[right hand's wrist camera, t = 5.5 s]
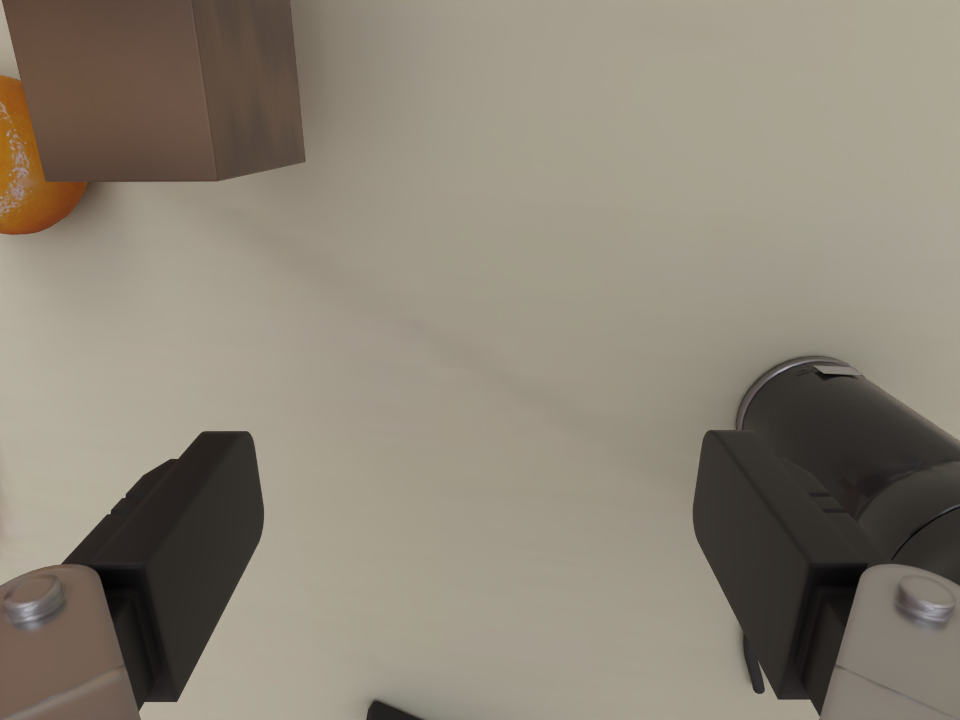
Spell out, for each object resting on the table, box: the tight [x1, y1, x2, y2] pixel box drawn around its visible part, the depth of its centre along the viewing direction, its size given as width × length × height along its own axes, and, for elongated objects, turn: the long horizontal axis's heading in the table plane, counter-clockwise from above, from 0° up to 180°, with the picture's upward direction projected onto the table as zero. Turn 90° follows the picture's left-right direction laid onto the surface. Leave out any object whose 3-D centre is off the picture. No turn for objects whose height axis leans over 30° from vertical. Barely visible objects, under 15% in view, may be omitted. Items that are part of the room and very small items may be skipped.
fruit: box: [0, 75, 87, 235], centre depth 36 cm, size 8×8×8 cm
